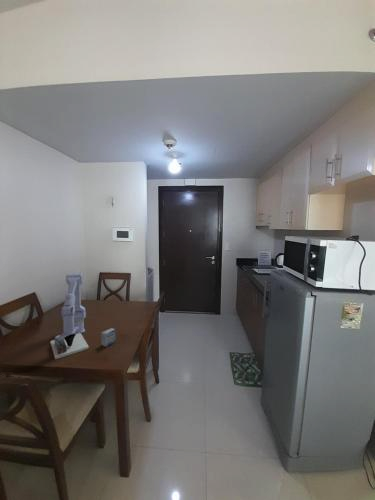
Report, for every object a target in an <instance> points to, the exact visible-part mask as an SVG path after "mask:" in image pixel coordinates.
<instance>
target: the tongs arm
mask: <svg viewBox="0 0 375 500" xmlns="http://www.w3.org/2000/svg"><path fill="white" fill-rule="evenodd" d="M60 335H61V334H59V335H56V336H55V337H54V339H58V337H59V336H60ZM60 345H61V347H62V352H66V351H67V348H66V344H65V341H64V338H63V339H62V340H61V341H60Z"/></svg>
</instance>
